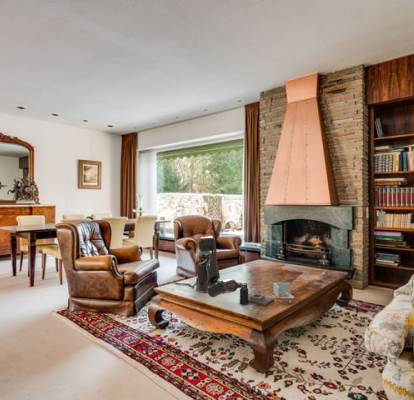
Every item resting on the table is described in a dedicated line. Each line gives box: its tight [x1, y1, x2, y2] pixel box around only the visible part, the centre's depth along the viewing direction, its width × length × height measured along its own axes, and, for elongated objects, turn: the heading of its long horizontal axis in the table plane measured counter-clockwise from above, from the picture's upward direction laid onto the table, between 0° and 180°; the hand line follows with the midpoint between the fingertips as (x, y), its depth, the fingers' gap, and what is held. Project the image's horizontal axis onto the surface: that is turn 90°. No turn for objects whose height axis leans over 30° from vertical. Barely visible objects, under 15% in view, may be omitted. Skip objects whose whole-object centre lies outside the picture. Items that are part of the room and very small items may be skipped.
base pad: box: [248, 293, 275, 307], centre depth 213 cm, size 18×14×3 cm
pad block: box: [239, 287, 249, 306], centre depth 207 cm, size 4×5×10 cm
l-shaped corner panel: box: [273, 282, 296, 299], centre depth 224 cm, size 12×12×8 cm
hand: (239, 284), depth 200 cm, fingers open, 8 cm apart
